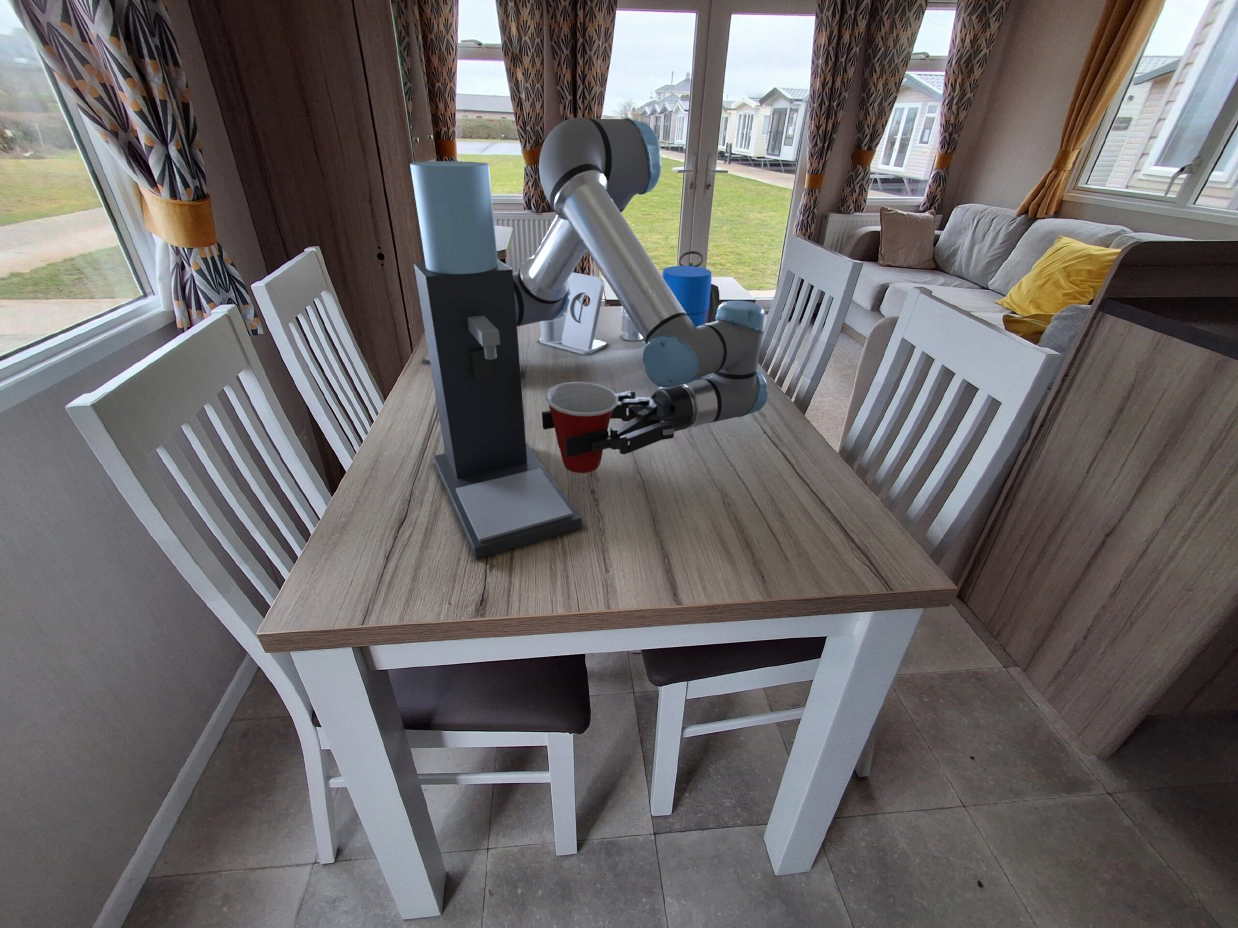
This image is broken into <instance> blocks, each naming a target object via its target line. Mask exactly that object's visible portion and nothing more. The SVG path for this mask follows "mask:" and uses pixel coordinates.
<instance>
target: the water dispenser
mask: <svg viewBox="0 0 1238 928" xmlns="http://www.w3.org/2000/svg"><path fill="white" fill-rule="evenodd" d="M409 166H410V172H411V179H412V185H413V191H414V200H415V205H416V211H417V218H418V224H419V230H420V237H421V245H422V251H423V257H424V262H416V263H415V262H414V263H413V267H414V273H415V279H416V285H417V292H418V298H419V304H420V309H421V310H420V311H421V315H422V322H423V329H424V335H425V339H426V345H427V352H428V358H429V359H428V360H430V364H429V365H430V370H431V371H430V372H431V376H432V380H433V381H432V382H433V390H434V395H435V401H436V406H437V412H438V419H439V424H440V431H441V436H442V443H443V449H444V453H441V454H435V455H433V461H434V466H435V468H436V470H437V473H438V475H439V478H440V480H441V482H442V484H443V487H444V489H445V491H446V493H447V496H448V498H449V500H450V503H451V505H452V507H453V510H454V512H455V514H456V516H457V519H458V521H459V524H460V526H461V528H462V531H463V532H464V535H465V537H466V540H467V542H468V544H469V547H470V549H471V551H472V554H473V556H474V558H475V559H476V560H479V559H482V558H486V557H489V556H492V555H496V554H499V553H502V552H506V551H509V550H513V549H517V548H520V547H523V546H526V545H530V544H533V543H538V542H541V541H543V540H547V539H551V538H554V537H557V536H561V535H565V534H567V533H572V532H575V531H579V530H581V529H582V528H583V527H582V524H583V522H582V521H583V519H582V517H581V515H580V514H579V512H578V511H577V510H576V508H575V507H574V505H573V504H572V503H571V502H570V500H569V499H568V498H567V496H566V495H565V494H564V493H563V491H562V490H561V488H560V487H559V486H558V484H557V483H556V481H555V480H554V479H553V478H552V476H551V475H550V473H549V472H548V471H547V470H546V468H545V466H543V464H542V462H541V461H540V460H539V458H538V457H537V456H536V455H535V454H534V452H533V451H532V449H531V447H529V445H528V444H527V440H526V439H527V438H526V427H525V425H526V424H525V414H524V403H523V402H524V401H523V400H524V399H523V390H522V389H523V388H522V376H521V375H522V372H521V373H520V361H521V359H520V347H519V336H518V327H517V321H516V308H515V295H514V282H513V274H514V269H512V268H511V266H508V265H507V264H506V263H504V262H502V261H501V260H499V258H498V251H497V238H496V227H495V218H494V217H495V216H494V206H493V194H492V193H493V192H492V184H491V172H490V164H489V163H488V162H480V161H462V160H461V161H457V160H456V161H455V160H453V161H452V160H447V161H446V160H437V161H435V160H434V161H433V160H432V161H431V160H430V161H429V160H428V161H416V162H410V163H409Z"/></svg>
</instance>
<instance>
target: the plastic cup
mask: <svg viewBox="0 0 1238 928" xmlns="http://www.w3.org/2000/svg"><path fill="white" fill-rule="evenodd" d="M544 398H545V401H546V403H547V405H548V407H549V411H551V416H552V418H553V423H554V427H555V428H554V432H555V436H556V441H557V445H558V449H559V451H560V456H561V461H562V463H563V466H564V467H565V469H566V470H568V471H569V472H571V473H576V474H588V473H593V472H594V471H596V470H597V469H598V468H599V467H600V466H601V465H600V464H601V462H602V457H603V453H604V452H603V451H604V450H599V451H593V452H588V453H584V454H580V455H576V456H571V457H567V456H566V452H565V438H570V437H574V436H579V435H583V434H588V433H592V432H597V431H601V430H607V431H609V426H610V420H611V415H612V413H613V410H614V408H615V407H616V406H617V405H618V396H617V395H616V392H615V391H614V390H612V389H610V388H609V387H606V386H604V385H601V384H596V383H594V382H593V383H592V382H587V381H586V382H585V381H569V382H562V383H558V384H555V385H553V386H552V387H549V389H547V390H546V392H545V396H544Z"/></svg>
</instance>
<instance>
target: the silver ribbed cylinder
mask: <svg viewBox="0 0 1238 928" xmlns="http://www.w3.org/2000/svg"><path fill="white" fill-rule="evenodd" d="M620 313H621V315H620V318H621V327H620V330H621V332H623V335H622V339H624V340H627V341H636V342H637V341H640V340H641V341H642V340H644V339H643V337H642V336H641V334H640V333H639V331H638V329H637V328H636V326H635V325H634V323H633V322H632V320H631V318H630V317H629V315H628V314H627V312H626V311H625V309H624V307H623V306H622V305H621V312H620Z"/></svg>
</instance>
